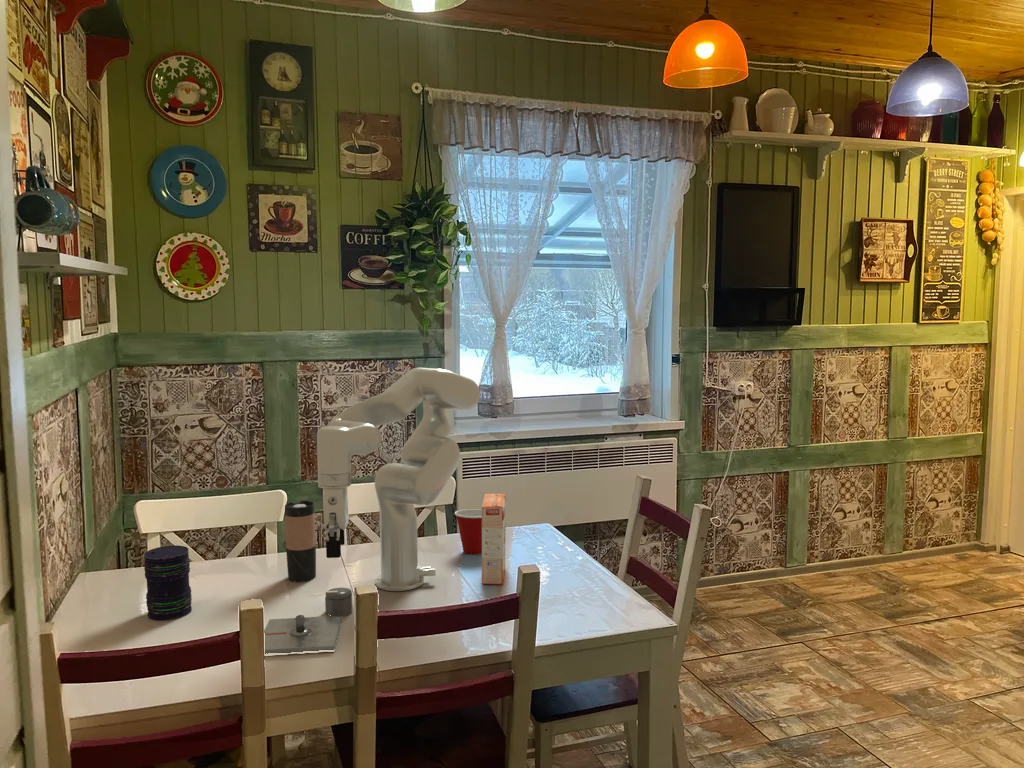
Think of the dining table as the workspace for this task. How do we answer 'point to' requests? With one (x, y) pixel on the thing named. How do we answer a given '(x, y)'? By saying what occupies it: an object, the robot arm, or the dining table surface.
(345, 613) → the knob
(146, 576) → the storage jar
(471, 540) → the plastic cup
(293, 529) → the travel mug
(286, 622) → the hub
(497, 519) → the cracker box
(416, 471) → the robot arm
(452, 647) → the dining table surface
